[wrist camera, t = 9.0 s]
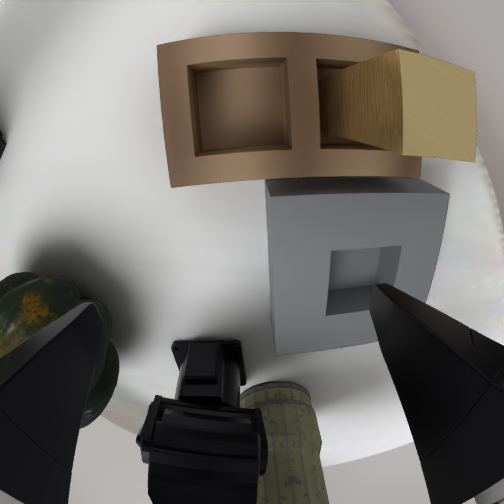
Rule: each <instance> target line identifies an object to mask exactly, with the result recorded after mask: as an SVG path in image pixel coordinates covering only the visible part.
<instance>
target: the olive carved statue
mask: <svg viewBox="0 0 504 504" xmlns="http://www.w3.org/2000/svg"><path fill="white" fill-rule="evenodd" d="M310 400H311V399H310V395H309V393H308V391H307V390H306V389H305V388H303V387H302V386H300V385H296V384H292V383H281V382H277V383H268V384H263V385H259V386H256V387H253V388H251V389H249V390H247V391H245V392H244V393H242V394H241V395H240V407H241V408H254V407H256V408H261V412H262V417H263V422H264V427H265V432H266V436H267V442H268V463H267V469H266V472H265V474H264V475H263V476H259V481H258V491H257V504H329V501H328V495H327V490H326V485H325V480H324V476H323V471H322V466H321V461H320V456H319V455H320V450H321V445H322V440H321V436H320V431H319V427H318V423H317V418H316V414H315V412H314V410H313V408H312V406H311V402H310Z"/></svg>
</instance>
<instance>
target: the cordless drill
mask: <svg viewBox="0 0 504 504" xmlns="http://www.w3.org/2000/svg"><path fill="white" fill-rule="evenodd" d="M2 134H3V133H2V132H1V131H0V159H1V156H2V154H3V151H4V149H5V146H6V143H5V142H4V140H3V139H2Z"/></svg>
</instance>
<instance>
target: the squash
mask: <svg viewBox="0 0 504 504" xmlns="http://www.w3.org/2000/svg"><path fill="white" fill-rule="evenodd" d="M82 303H94V304H95V305H96V307H97V309H98V311H99V314H100V316H101V318H102V321H103V325H104V328H103V333H102V338H101V342H100V347H99V352H98V357H97V362H96V366H95V370H94V374H93V377H92V381H91V384H90V388H89V392H88V396H87V400H86V404H85V408H84V412H83V416H82V420H81V425H80V429H81V428H83V427H85V426H87V425H89V424H90V423H92V422H93V421H94V420H95V419H96V418H97V417H98V416H99V415H100V414H101V413H102V412H103V410H104V409H105V407H106V406H107V404H108V403H109V401H110V399H111V397H112V395H113V392H114V389H115V387H116V385H117V380H118V375H119V357H118V353H117V351H116V349H115V347H114V345H113V344H112V342H111V341H110V340H109V338H110V333H111V318H110V315H109V312H108V310H107V308H106V307H105V306H104V305H103V304H102V303H100V302H98V301H95V300H91V299H83V300H81V296H80V291H79V289H78V287H77V286H76V284H75V283H74V282H73V281H72V280H71V279H69V278H65V277H63V276H46V277H41V276H40V275H38V274H35V273H31V272H21V273H15V274H12V275H9V276H7V277H6V278H4V279H3V280H1V281H0V358H1V357H3V356H4V355H5V354H7V353H8V352H10V351H11V350H13V349H14V348H15V347H17V346H18V345H20V344H21V343H23V342H24V341H26V340H27V339H29V338H30V337H32V336H33V335H34V334H36V333H37V332H39V331H40V330H42V329H43V328H45V327H46V326H48V325H49V324H51V323H52V322H54V321H56V320H57V319H59V318H60V317H62V316H63V315H65V314H66V313H68V312H69V311H71V310H73V309H74V308H76V307H77V306H79V305H80V304H82Z"/></svg>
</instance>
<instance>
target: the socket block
mask: <svg viewBox="0 0 504 504" xmlns="http://www.w3.org/2000/svg"><path fill="white" fill-rule="evenodd" d="M265 192H266V211H267V231H268V253H269V276H270V301H271V323H272V331H273V339H274V346H275V354H276V355H286V354H296V353H305V352H313V351H321V350H328V349H335V348H342V347H349V346H355V345H361V344H366V343H372V342H377V341H378V338H377V335H376V331H375V328H374V325H373V321H372V318H371V315H370V311H369V305H370V300H371V295H372V289H373V286H374V285H375V284H380V283H388V284H389V285H391V286H393V287H395V288H397V289H399V290H401V291H403V292H405V293H407V294H409V295H411V296H412V297H414V298H416V299H418V300H420V301H422V302H424V303H426V300H427V297H428V293H429V290H430V286H431V283H432V279H433V276H434V272H435V268H436V264H437V260H438V256H439V251H440V247H441V242H442V237H443V232H444V227H445V221H446V215H447V209H448V203H449V195H450V194H449V193H447V192H445V191H443V190H441V189H439V188H437V187H435V186H433V185H431V184H429V183H427V182H425V181H423V180H421V179H410V178H311V179H287V180H268V181H265Z"/></svg>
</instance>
